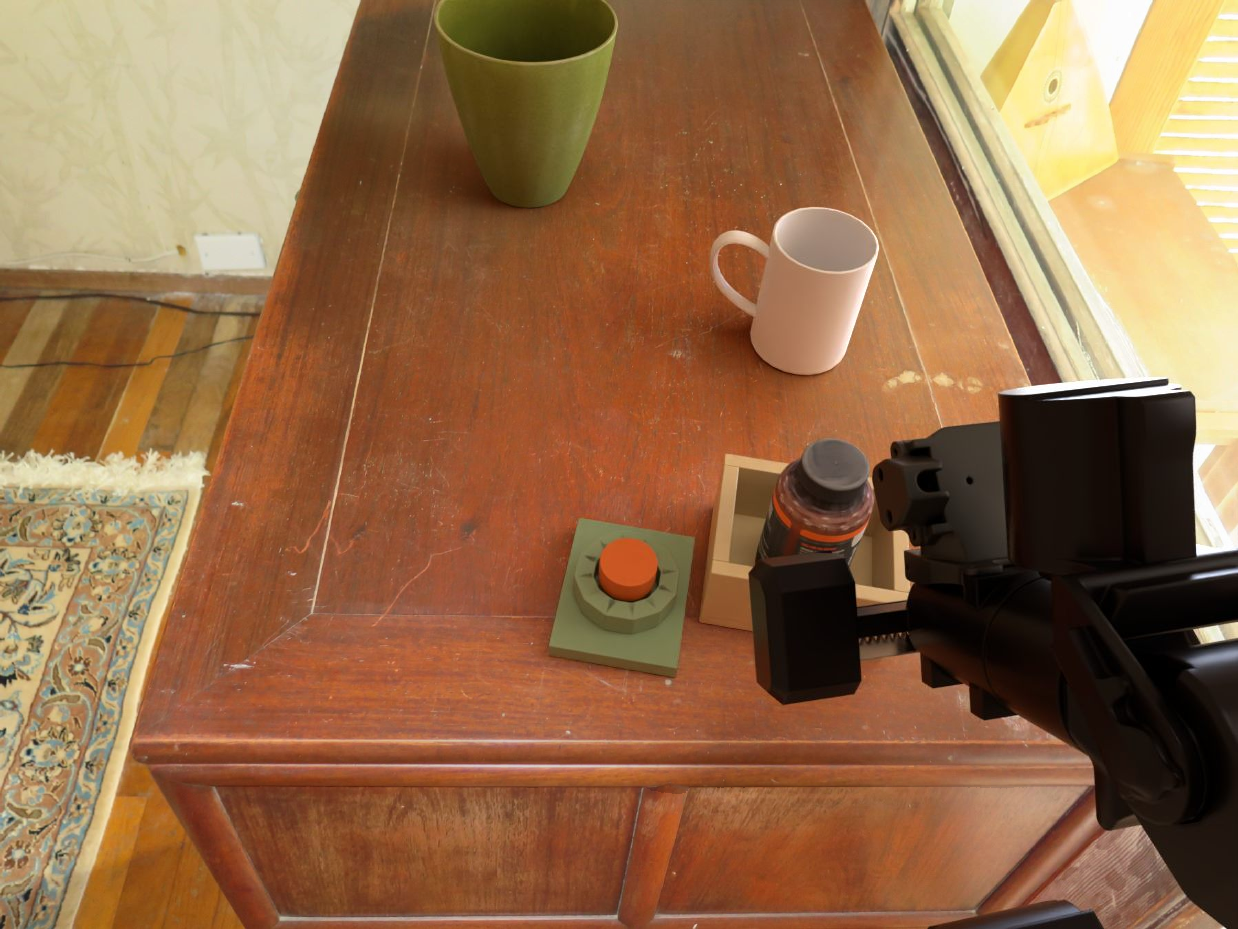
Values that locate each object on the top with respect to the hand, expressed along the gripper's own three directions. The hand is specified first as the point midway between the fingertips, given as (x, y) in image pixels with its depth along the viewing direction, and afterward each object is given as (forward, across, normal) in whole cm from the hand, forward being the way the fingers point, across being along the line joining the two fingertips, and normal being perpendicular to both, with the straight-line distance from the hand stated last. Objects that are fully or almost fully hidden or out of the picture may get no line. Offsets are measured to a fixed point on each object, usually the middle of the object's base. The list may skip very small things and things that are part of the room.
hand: (875, 571), depth 53 cm
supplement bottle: (+12, 0, +3) cm, 13 cm away
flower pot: (+46, +12, -30) cm, 56 cm away
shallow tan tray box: (+13, 0, +3) cm, 13 cm away
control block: (+13, +12, +3) cm, 18 cm away
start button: (+11, +12, +1) cm, 16 cm away
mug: (+29, -5, -13) cm, 32 cm away
